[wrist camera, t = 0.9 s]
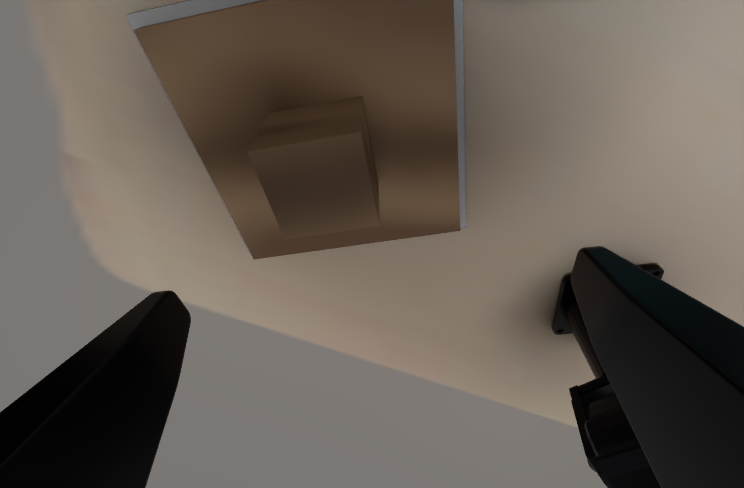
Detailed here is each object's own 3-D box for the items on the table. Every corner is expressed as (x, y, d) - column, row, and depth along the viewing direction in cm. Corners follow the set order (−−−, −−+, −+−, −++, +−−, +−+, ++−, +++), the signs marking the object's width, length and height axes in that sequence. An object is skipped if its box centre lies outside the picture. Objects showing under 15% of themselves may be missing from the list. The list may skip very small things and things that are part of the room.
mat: (464, 223, 23) (466, 227, 23) (253, 253, 25) (252, 257, 24) (459, -61, 14) (461, -61, 14) (129, 13, 16) (124, 15, 15)
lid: (457, 222, 23) (474, 278, 19) (256, 250, 24) (236, 308, 20) (448, -42, 14) (476, -33, 11) (142, 26, 16) (73, 55, 12)
